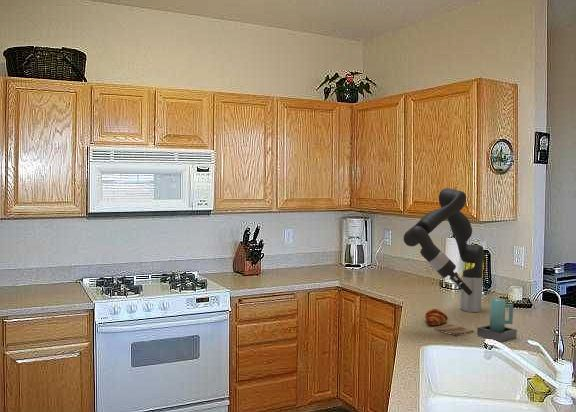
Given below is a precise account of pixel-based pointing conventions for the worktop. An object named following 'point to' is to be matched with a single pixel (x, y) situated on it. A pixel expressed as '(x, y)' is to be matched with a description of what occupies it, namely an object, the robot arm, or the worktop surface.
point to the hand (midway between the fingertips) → (469, 291)
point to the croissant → (435, 317)
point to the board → (454, 329)
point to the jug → (499, 314)
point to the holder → (497, 333)
